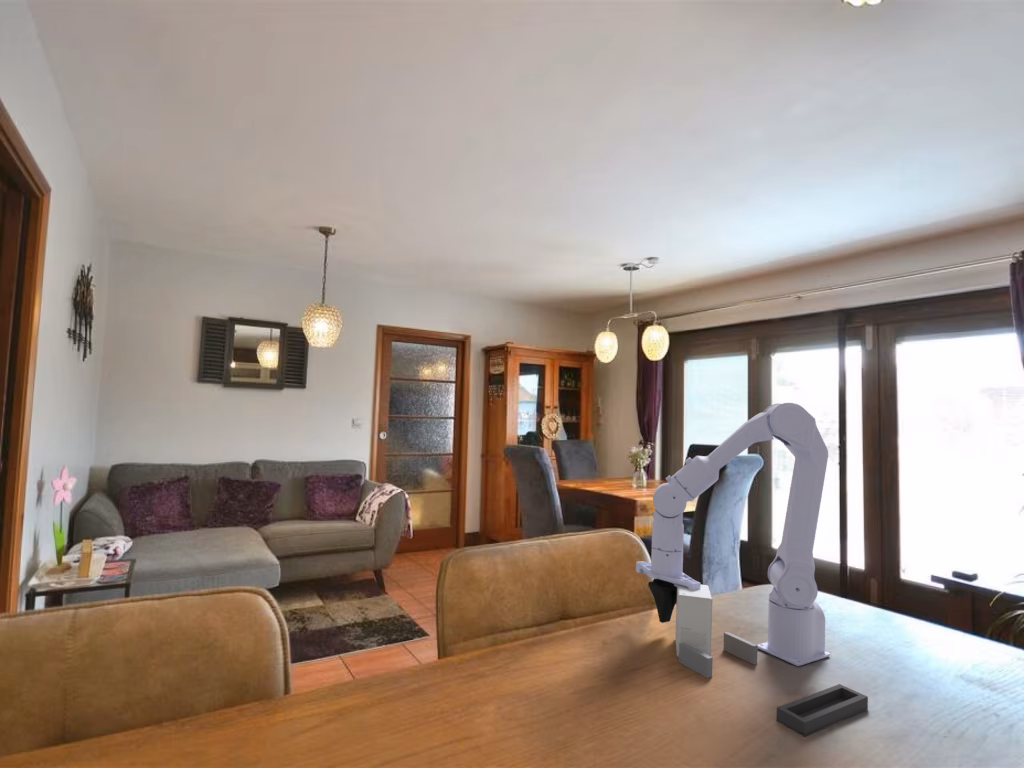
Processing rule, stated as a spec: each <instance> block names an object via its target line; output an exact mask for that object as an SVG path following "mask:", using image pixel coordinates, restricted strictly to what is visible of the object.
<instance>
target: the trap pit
mask: <svg viewBox="0 0 1024 768" xmlns="http://www.w3.org/2000/svg"><path fill="white" fill-rule="evenodd" d="M868 705H869V696H867V695H866V694H863V693H860V692H858V691H856V690H854V689H852V688H849V687H847V686H845V685H842V684H840V683H839V684H836V685H833V686H831V687H828V688H825V689H823V690H820V691H817V692H815V693H812V694H809V695H807V696H803V697H801V698H797V699H795V700H793V701H790V702H788V703H785V704H782V705H779V706H776V718H775V719H776V722H778V723H779V724H782V725H783V726H785V727H787V728H788V729H790V730H792V731H794V732H795V733H797V734H799V735H800V736H801V737H807V736H809V735H812V734H814V733H816V732H819V731H821V730H823V729H826V728H828V727H831V726H832V725H835V724H837V723H840V722H842V721H844V720H847V719H848V718H849V719H850V718H851V717H854V716H856V715H860V713H861V714H862V713H863V712H866V711H867V710H869V708H868V707H869V706H868Z"/></svg>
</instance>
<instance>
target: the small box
mask: <svg viewBox="0 0 1024 768" xmlns="http://www.w3.org/2000/svg"><path fill="white" fill-rule="evenodd" d="M712 597H713V596H712V593H711V590H710V586H709V585H707V584H701V587H700V589H698V590H690V589H688V587H687V586H684V585H680V584H678V587H677V601H676V604H675V606H676V609H675V610H676V611H675V612H676V613H675V615H676V616H675V646H676V649H675V650H676V657H677V658H679V644H680V643H685V644H687V645H689V646H691V647H693V648H695V649H697V650H699V651H701V652H703V653H705V654H707V655H709V656H711V657H712V629H713V627H712V626H713V625H712V624H713V623H712V622H713V598H712Z"/></svg>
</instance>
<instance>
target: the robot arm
mask: <svg viewBox="0 0 1024 768" xmlns="http://www.w3.org/2000/svg"><path fill="white" fill-rule="evenodd" d="M774 438H775V439H776V440H779V442H781V443H782V444H783V445H784V446H785V447H786V449H788V450H789V452H790V453H791V454H792V455H793V456H794V463H793V470H792V476H791V481H790V482H791V483H790V488H789V495H788V500H787V505H786V506H787V507H786V513H785V519H784V523H783V531H782V536H781V542H780V544H779V546H778V548H777V549H776V554H775V557H774V558H773V561H772V562H771V563H770V565H768V569H767V578H768V580H769V582H770V584H771V585H772V586H773V588H772V590H771V592H769V594H768V609H767V610H768V611H767V612H768V613H767V614H768V619H767V620H768V621H767V641H766V642H762V643H758V644H757V645H758V647H757V649H758V650H761V651H763V652H765V653H768V654H769V655H772V656H774V657H776V658H778V659H780V660H783V661H785V662H787V663H790V664H792V665H793V666H796V667H799V666H803V665H806V664H809V663H812V662H816V661H819V660H822V659H826V658H828V657H830V656H831V653H830V652H828V651H826V616H825V612H824V611H823V609H822V607H821V606H820V605H819V604H818V603H817V602H816V600H817V596H818V593H819V591H818V589H819V588H818V585H817V582H816V580H815V570H816V566H815V564H816V563H815V560H814V554H813V551H814V546H815V540H816V534H817V533H816V532H817V528H818V521H819V520H818V519H819V516H820V515H819V514H820V508H821V502H822V497H823V496H822V495H823V490H824V483H825V478H826V472H827V465H828V459H829V449H828V448H827V445H826V443H825V441H824V438H823V437H822V435H821V432H820V431H819V429H818V426H817V422H816V418H815V417H814V416H813V415H812V414H811V413H809V411H807V409H805V408H804V407H803V406H801V405H800V404H798V403H794V402H783V403H773V404H771V405H769V406H767V407H766V408H765V409H764V410H763V412H759V413H757V414H756V415H754V416H753V417H751V418H750V419H748V420H747V421H746V422H745V423H742V424H741V426H739V427H738V428H737V429H736V430H735V431H734V432H733V433H732V434H731V435H730V436H728V437H727V438H726V439H724V440H723V442H721V443H720V444H719V445H718V446H717V447H715V449H714V450H713V451H712V452H710V453H708V455H705V456H703V455H695V456H694V457H693V458H691V457H688V458H686V460H685V461H684V463H685V465H684V466H682V467H681V468H680V469H679V470H677V471H676V472H675V473H674V474H673V475H672V476H671V475H670V474H669V475H668V476H667V477H665V480H666V482H665V483H664V482H663V483H662V484H659V485H658V486H657V487H656V488H655V490H654V492H653V495H652V502H653V506H654V510H653V512H652V513H653V514H652V515H653V521H652V523H651V525H652V528H651V529H652V531H651V556H650V558H651V560H650V561H651V562H648V561H645V560H641V561H636V562H635V572H636V573H639V574H641V573H643V574H644V575H646V576H647V577H648V578H651V579H652V581H648V584H647V585H648V586H647V587H648V589H650V592H651V594H652V597H653V600H654V603H655V606H656V610H657V616H658V620H659V622H660V623H662V624H663V623H668V622H671V618H672V615H673V612H674V609H675V606H676V605H677V587H678V584H680V585H684V586H687V587H688V589H690V590H698V589H700V587H701V582H699V581H697V580H695V579H693V578H692V577H690V576H689V575H687V574H686V573H684V572H683V571H684V570H683V567H684V565H683V563H684V538H685V537H684V536H685V532H684V531H685V525H684V522H683V519H684V518H683V517H684V512H685V510H686V507H687V502H692V501H694V500H695V499H697V498H698V497H699V496H700V495H701V494H703V493H704V492H705V491H707V490H708V489H709V488H711V486H713V485H714V484H715V483H716V482H718V480H719V476H720V470H721V469H722V468H724V466H725V465H727V464H728V463H730V462H731V461H732V460H733V459H734V458H736V457H737V456H739V455H740V454H742V453H743V452H744V451H746V450H747V449H748V448H749V447H751V446H752V445H753V444H756V443H760V442H766V441H773V440H775V439H774Z"/></svg>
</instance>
